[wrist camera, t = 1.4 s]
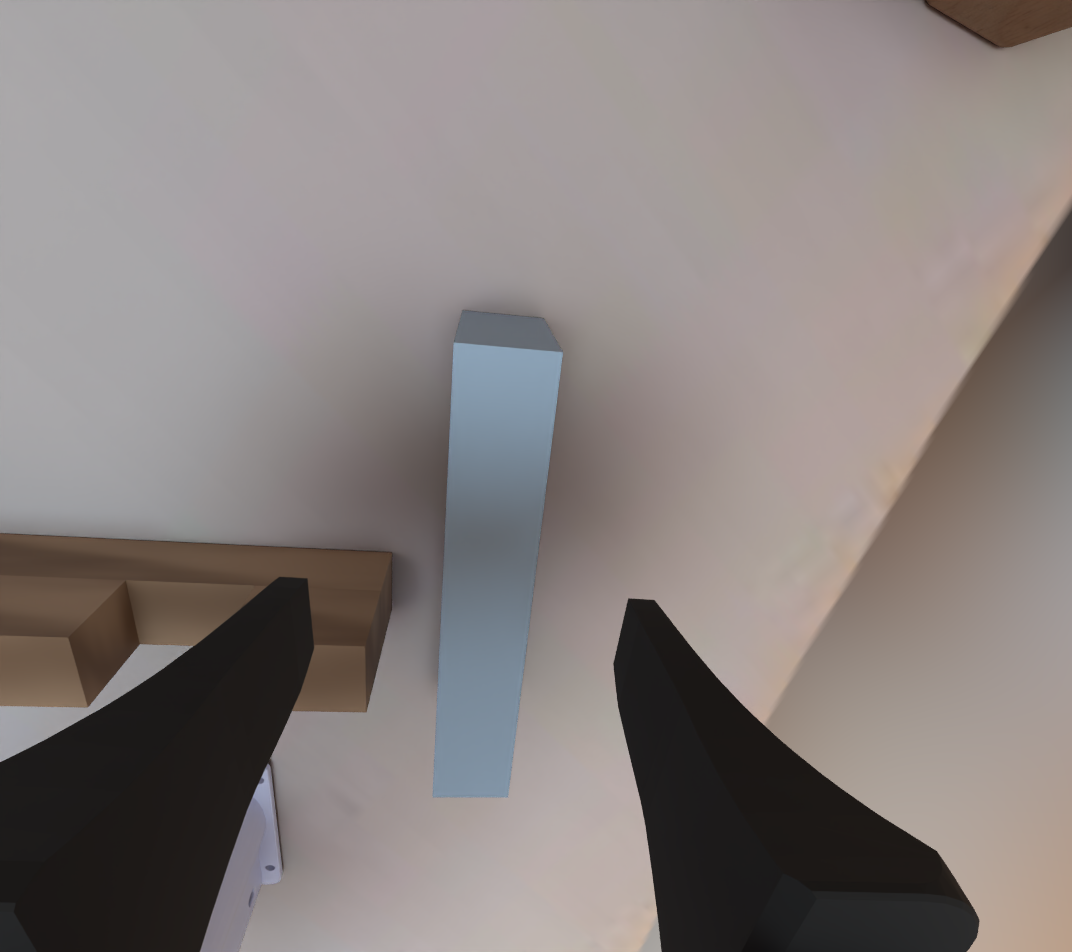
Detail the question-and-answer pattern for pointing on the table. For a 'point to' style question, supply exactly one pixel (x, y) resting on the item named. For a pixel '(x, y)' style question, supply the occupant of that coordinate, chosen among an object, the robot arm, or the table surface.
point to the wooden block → (1009, 18)
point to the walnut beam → (175, 611)
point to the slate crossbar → (491, 542)
